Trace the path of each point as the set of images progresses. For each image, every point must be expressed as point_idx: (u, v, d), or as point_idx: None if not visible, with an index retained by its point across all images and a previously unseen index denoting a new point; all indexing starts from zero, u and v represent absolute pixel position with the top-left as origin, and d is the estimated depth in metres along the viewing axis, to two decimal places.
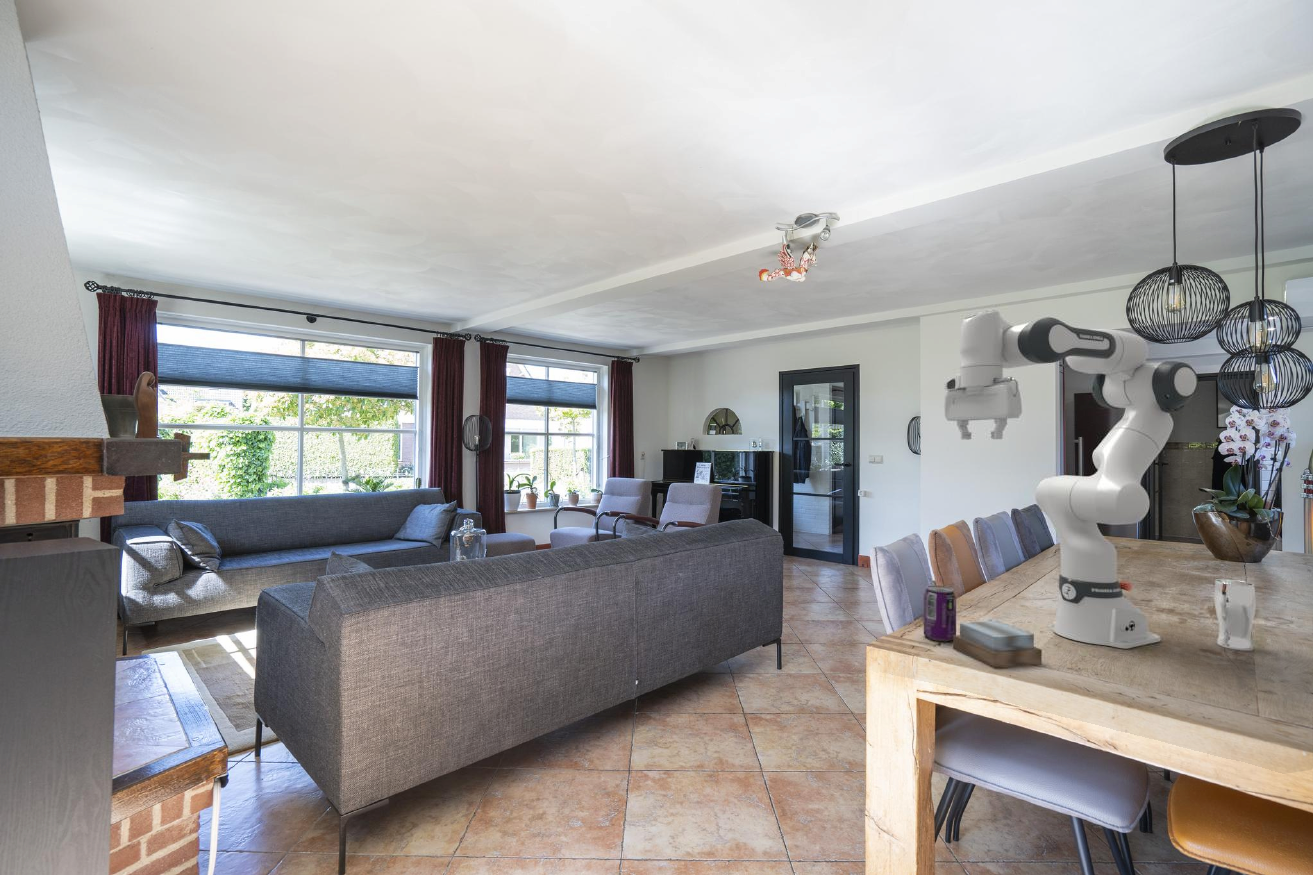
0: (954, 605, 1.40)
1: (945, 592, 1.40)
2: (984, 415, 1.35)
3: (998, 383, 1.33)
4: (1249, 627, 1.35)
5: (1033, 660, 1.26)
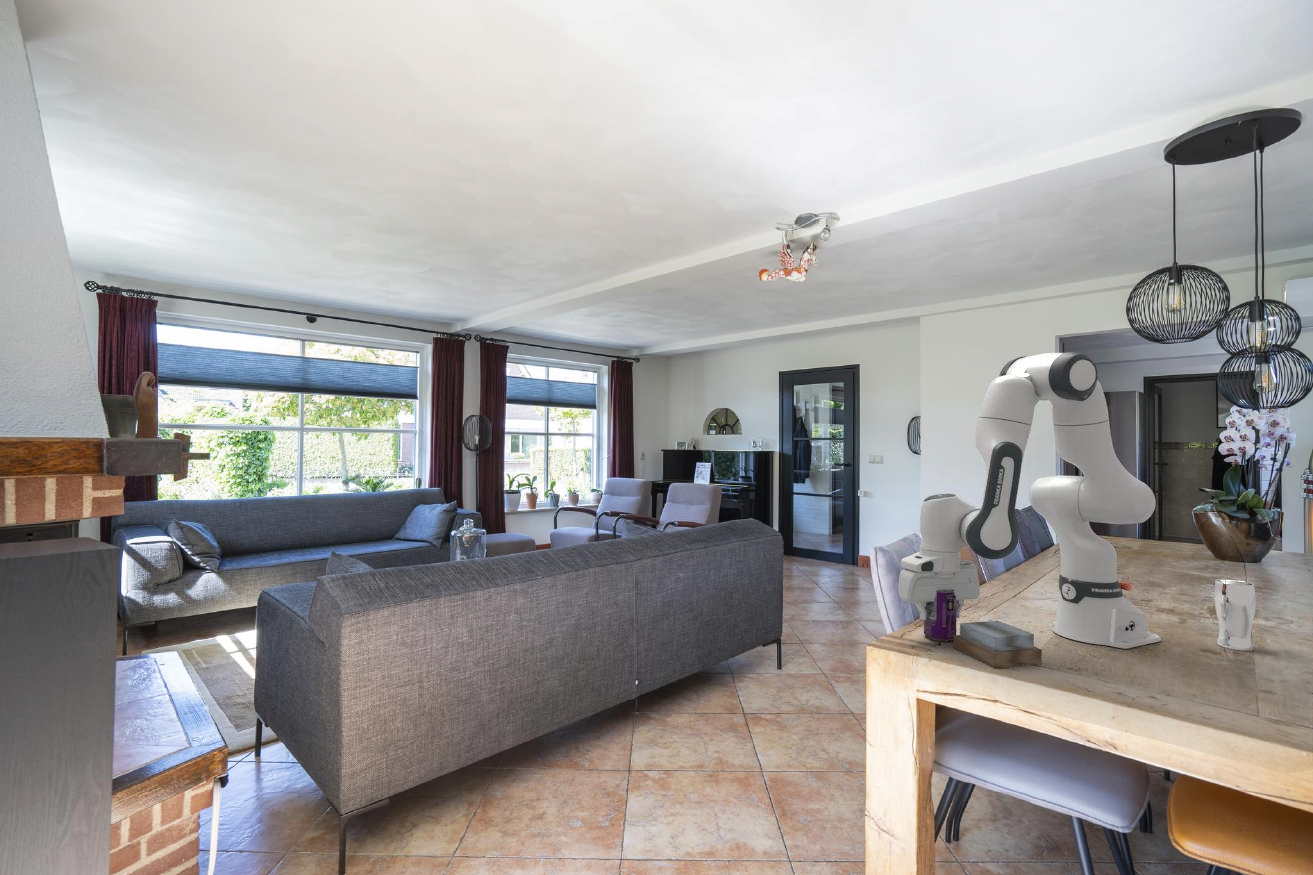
0: (954, 605, 1.40)
1: (945, 592, 1.40)
2: None
3: (960, 565, 1.44)
4: (1249, 627, 1.35)
5: (1033, 660, 1.26)
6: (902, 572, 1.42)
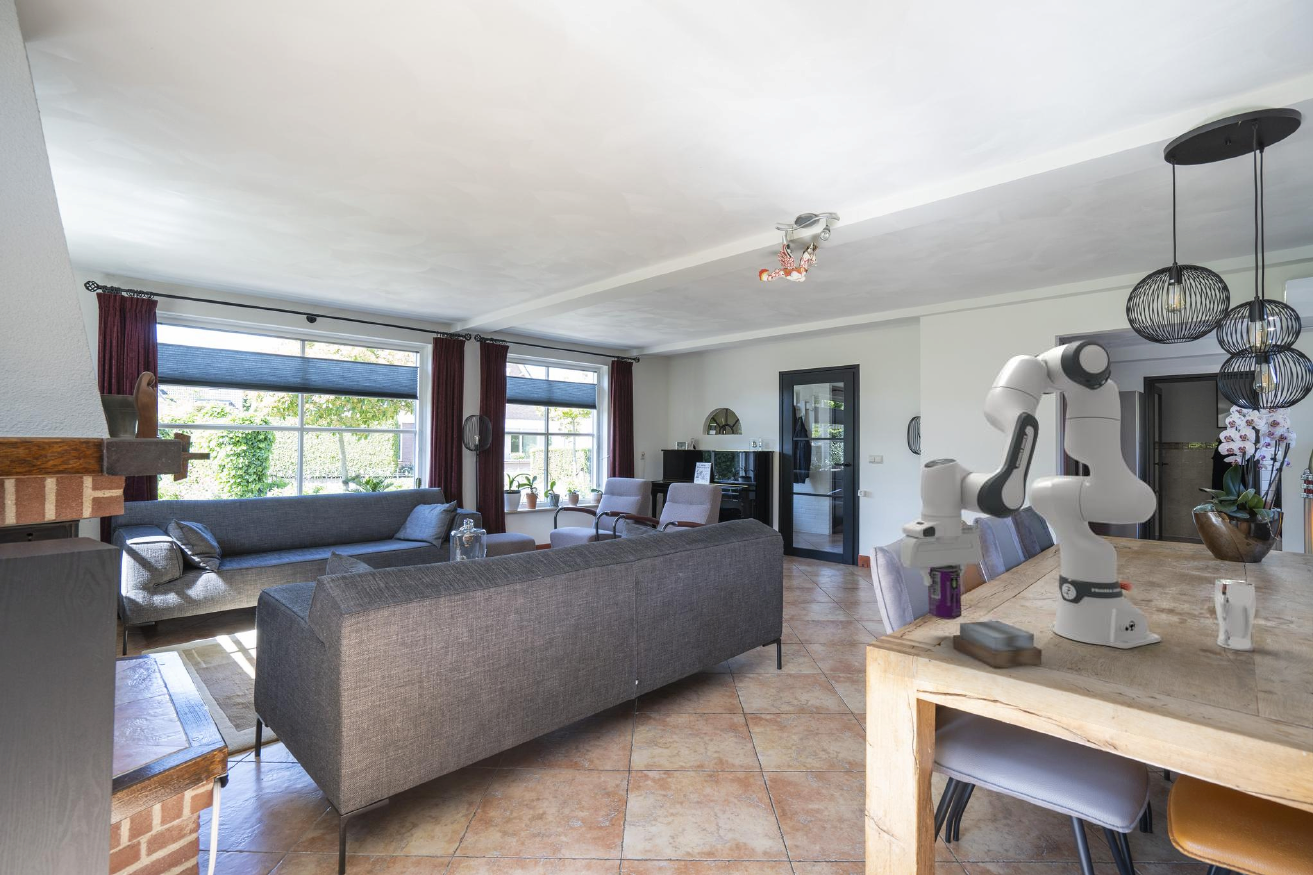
0: (958, 583, 1.40)
1: (949, 570, 1.40)
2: (958, 562, 1.42)
3: (962, 530, 1.44)
4: (1249, 627, 1.35)
5: (1033, 660, 1.26)
6: (904, 539, 1.42)
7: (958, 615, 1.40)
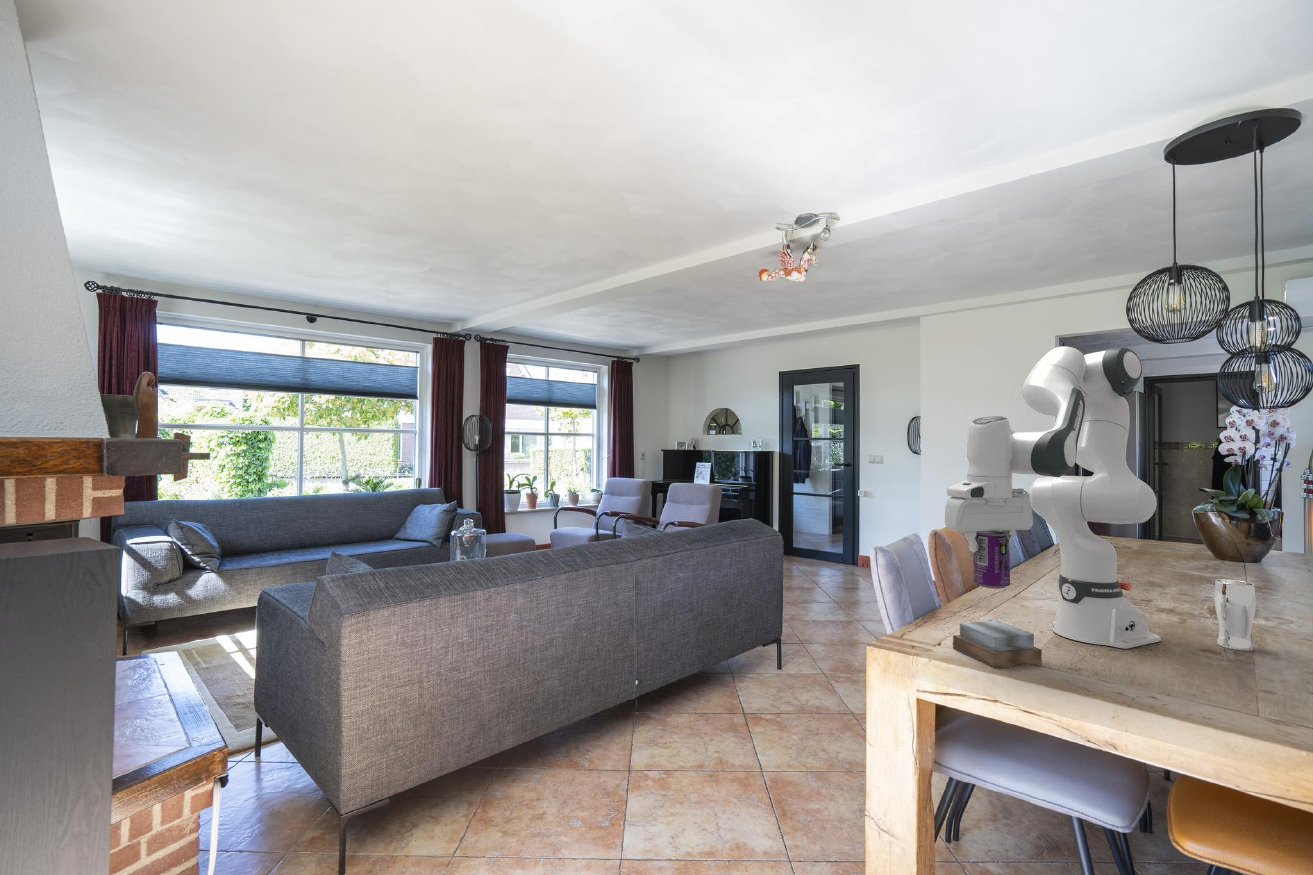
0: (1007, 549, 1.29)
1: (997, 535, 1.29)
2: (1007, 527, 1.31)
3: (1012, 494, 1.33)
4: (1249, 627, 1.35)
5: (1033, 660, 1.26)
6: (949, 501, 1.32)
7: (1007, 584, 1.29)
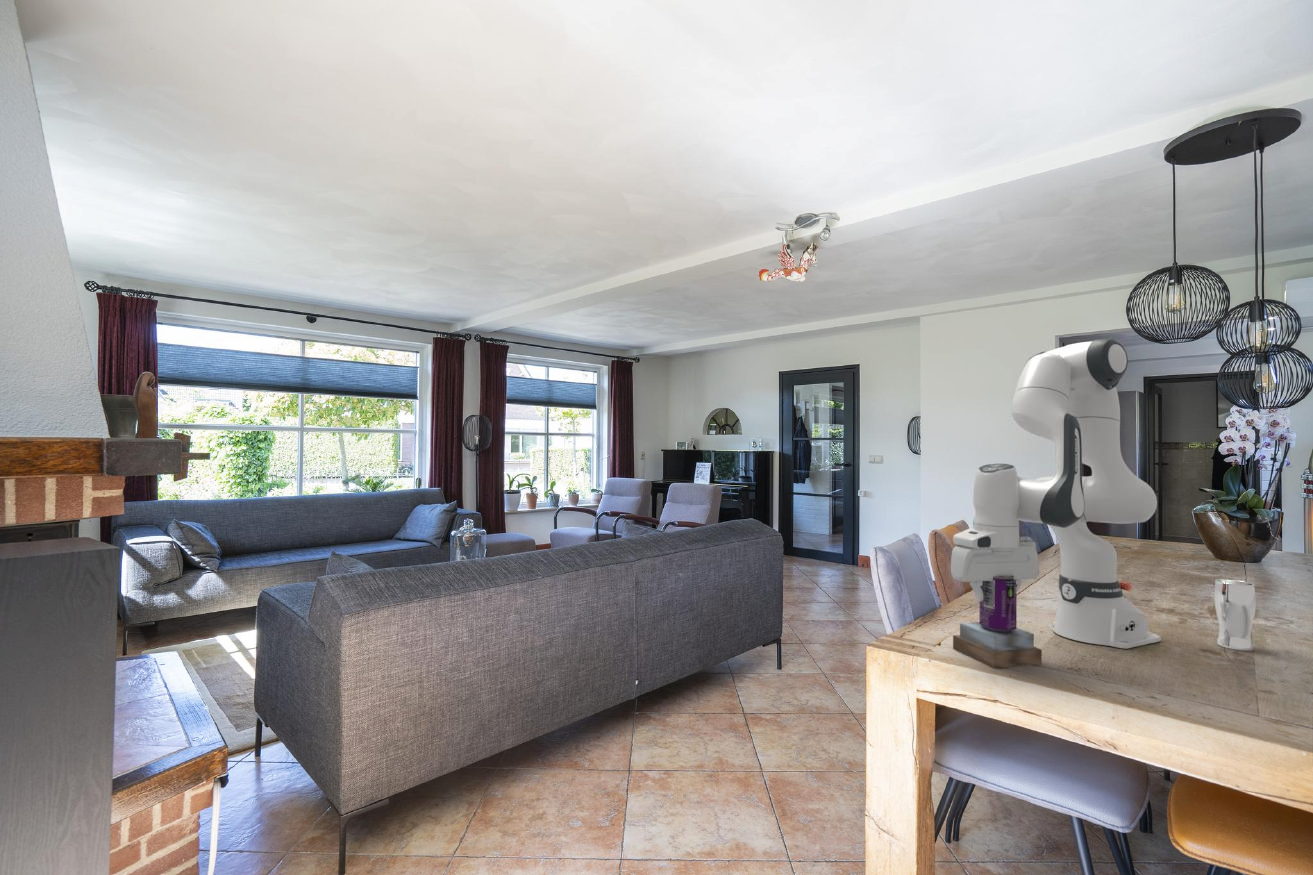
0: (1014, 593, 1.28)
1: (1005, 578, 1.28)
2: None
3: (1018, 542, 1.32)
4: (1249, 627, 1.35)
5: (1033, 660, 1.26)
6: (955, 549, 1.31)
7: (1013, 628, 1.27)
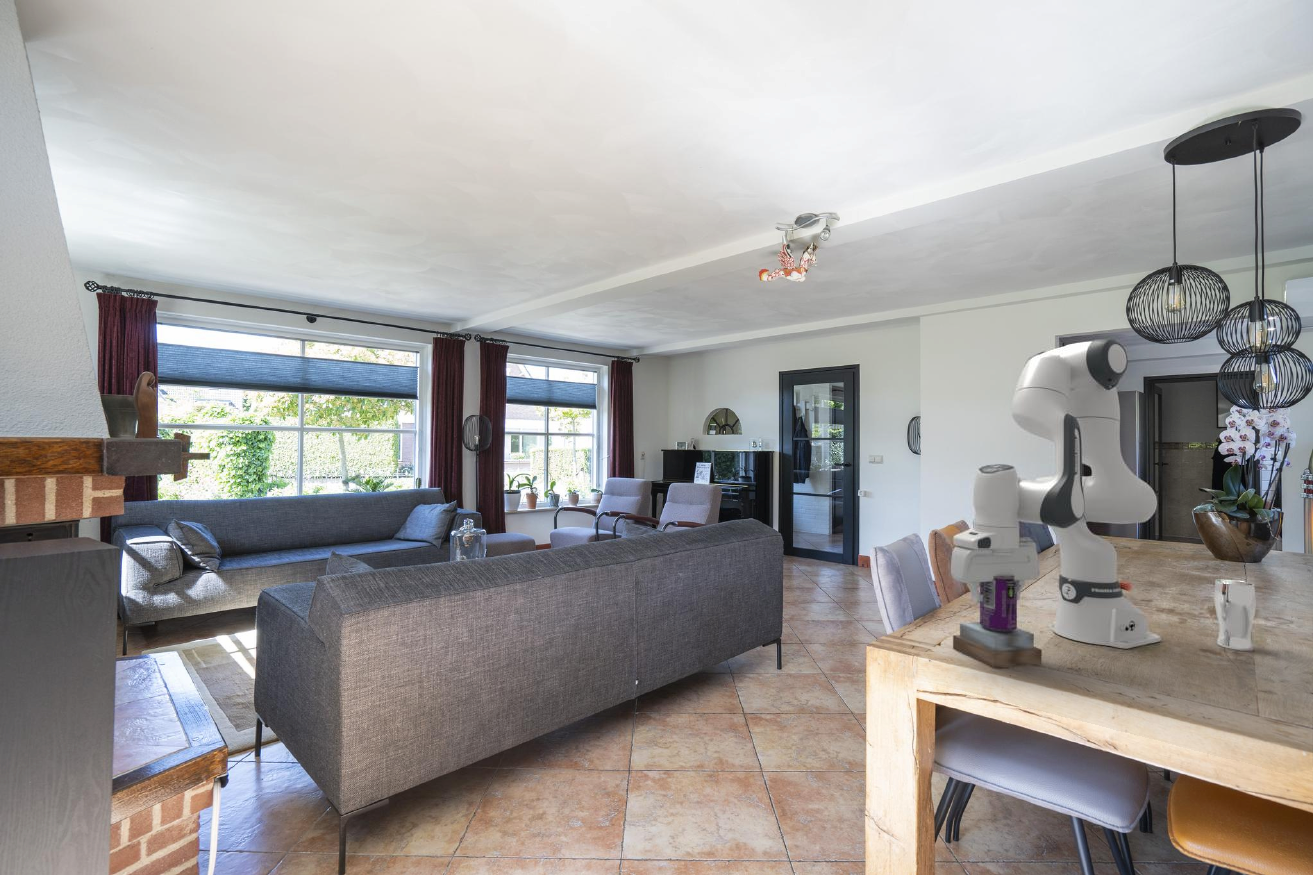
0: (1015, 592, 1.28)
1: (1005, 578, 1.28)
2: (1014, 577, 1.30)
3: (1018, 543, 1.32)
4: (1249, 627, 1.35)
5: (1033, 660, 1.26)
6: (955, 550, 1.31)
7: (1014, 628, 1.28)
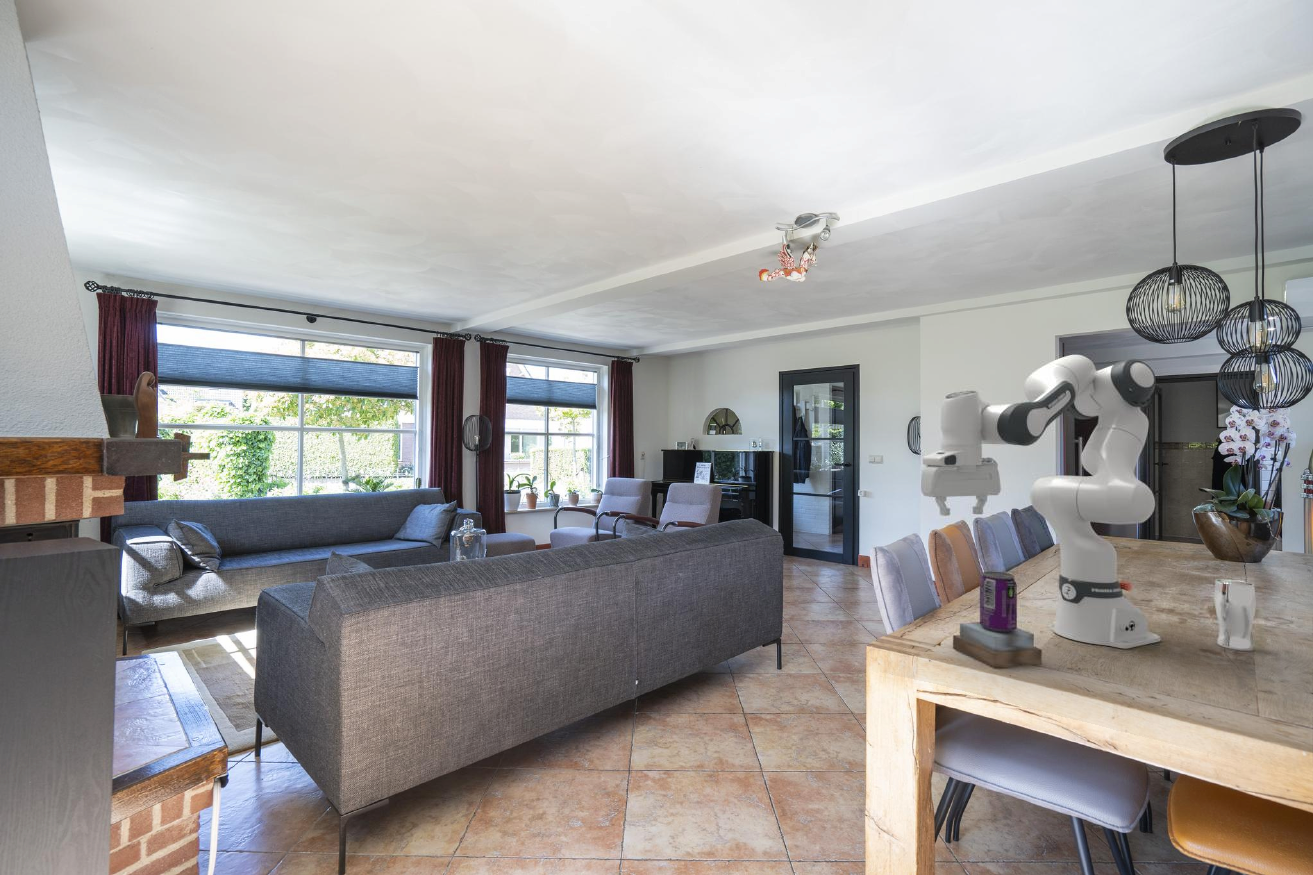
0: (1015, 592, 1.28)
1: (1005, 578, 1.28)
2: (977, 492, 1.43)
3: (981, 462, 1.45)
4: (1249, 627, 1.35)
5: (1033, 660, 1.26)
6: (924, 469, 1.43)
7: (1014, 628, 1.28)
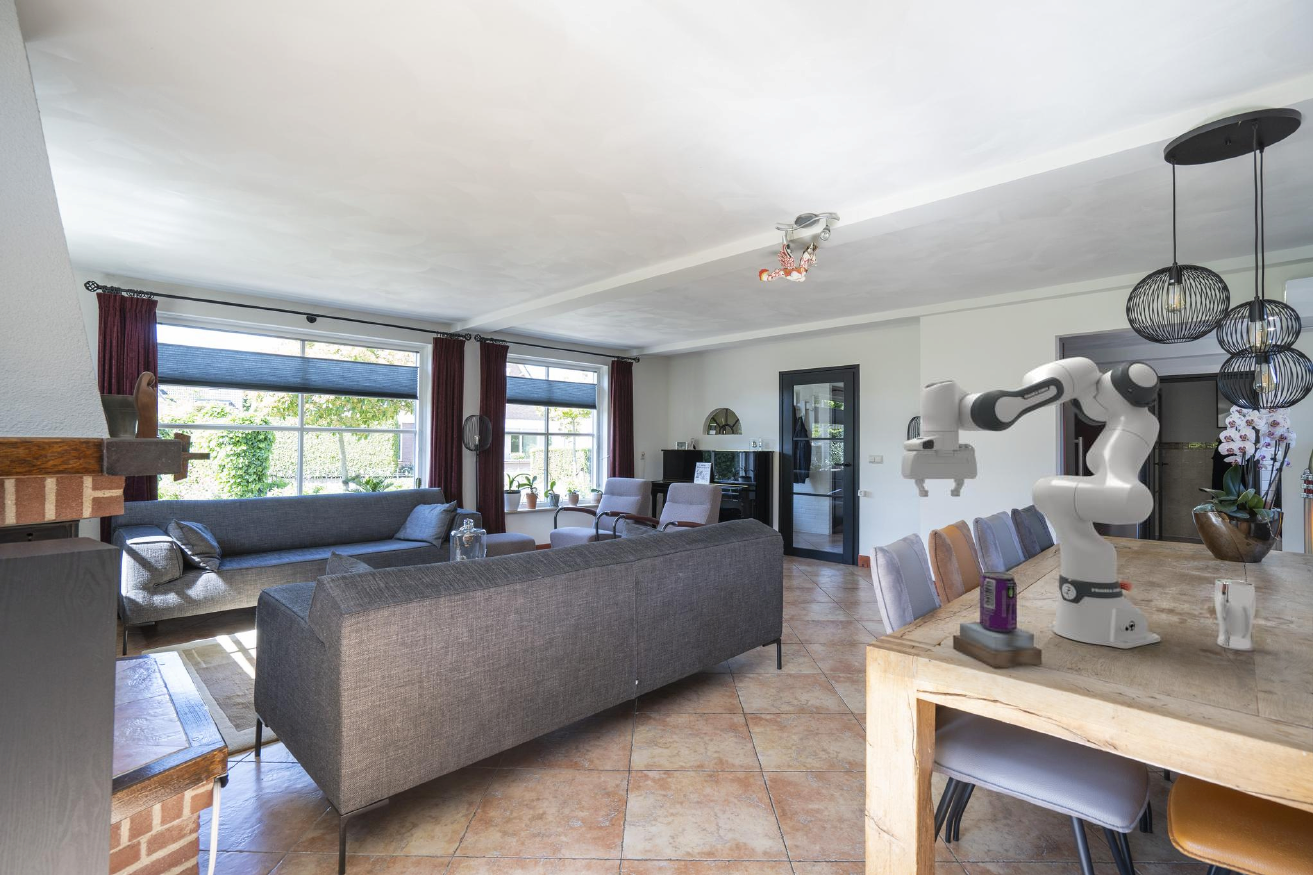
0: (1015, 592, 1.28)
1: (1005, 578, 1.28)
2: (954, 476, 1.52)
3: (959, 448, 1.54)
4: (1249, 627, 1.35)
5: (1033, 660, 1.26)
6: (905, 453, 1.53)
7: (1014, 628, 1.28)
